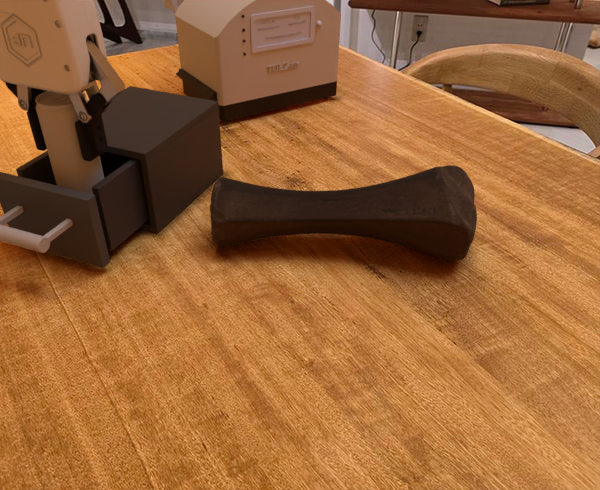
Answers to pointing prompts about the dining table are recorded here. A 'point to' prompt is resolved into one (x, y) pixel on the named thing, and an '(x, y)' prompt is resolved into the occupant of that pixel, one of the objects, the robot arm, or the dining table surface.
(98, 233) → the dark grey drawer
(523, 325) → the dining table surface
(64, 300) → the dining table surface
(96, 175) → the beverage can
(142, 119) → the dark brown drawer cabinet
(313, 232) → the dark brown bone
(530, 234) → the dining table surface
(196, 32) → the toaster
